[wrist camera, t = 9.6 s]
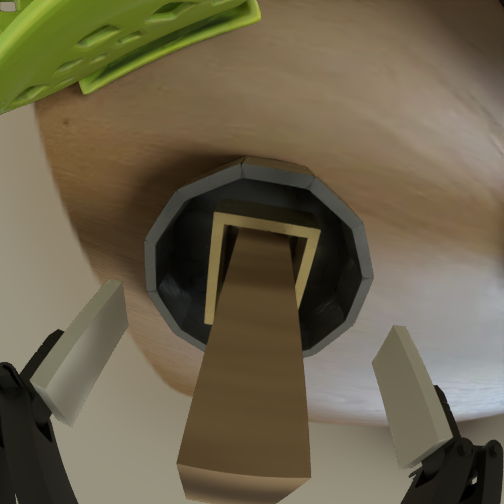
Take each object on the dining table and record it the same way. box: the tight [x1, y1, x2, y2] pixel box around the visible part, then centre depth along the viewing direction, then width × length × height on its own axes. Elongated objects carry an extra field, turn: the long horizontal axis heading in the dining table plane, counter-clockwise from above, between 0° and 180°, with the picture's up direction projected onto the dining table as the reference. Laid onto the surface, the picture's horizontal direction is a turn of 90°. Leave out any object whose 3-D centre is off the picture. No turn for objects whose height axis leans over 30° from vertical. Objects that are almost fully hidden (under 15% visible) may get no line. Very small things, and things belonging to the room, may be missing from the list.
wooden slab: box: [176, 227, 311, 504], centre depth 12 cm, size 5×3×15 cm, turn 172°
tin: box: [144, 156, 374, 358], centre depth 18 cm, size 14×14×4 cm
